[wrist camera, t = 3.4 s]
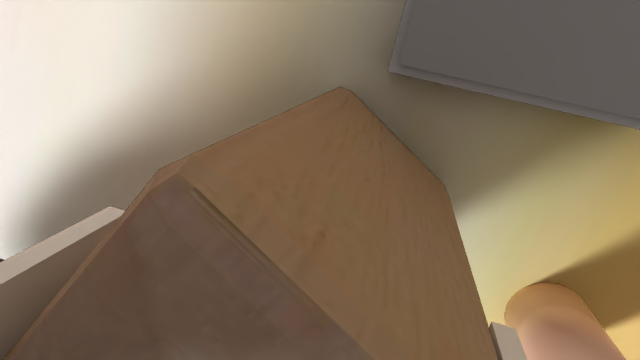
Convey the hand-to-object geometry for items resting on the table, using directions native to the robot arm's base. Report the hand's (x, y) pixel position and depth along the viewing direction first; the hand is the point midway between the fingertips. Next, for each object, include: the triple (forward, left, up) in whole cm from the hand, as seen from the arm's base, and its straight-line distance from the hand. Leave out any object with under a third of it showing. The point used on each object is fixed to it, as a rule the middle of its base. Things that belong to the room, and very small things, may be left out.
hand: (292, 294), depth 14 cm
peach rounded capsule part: (+15, -5, -14) cm, 21 cm away
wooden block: (0, 0, -14) cm, 14 cm away
